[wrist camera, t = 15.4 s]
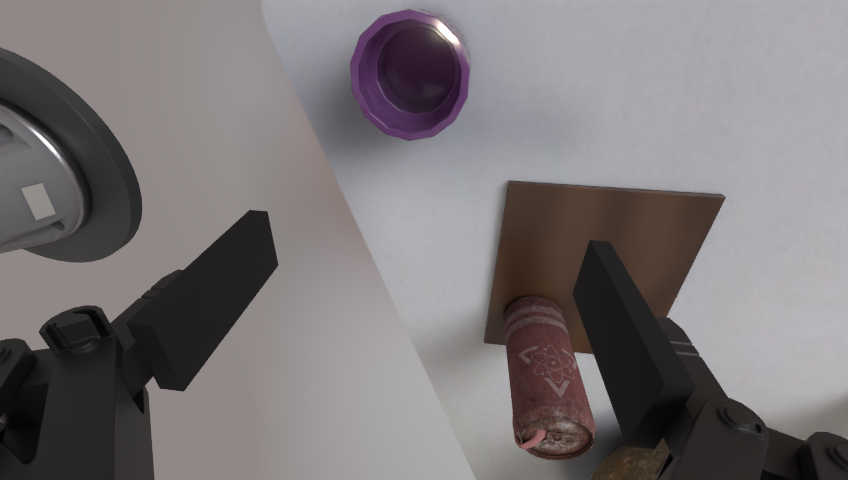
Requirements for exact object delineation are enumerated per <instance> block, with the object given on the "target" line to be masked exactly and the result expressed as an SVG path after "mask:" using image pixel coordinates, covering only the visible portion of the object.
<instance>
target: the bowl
mask: <svg viewBox="0 0 848 480" xmlns="http://www.w3.org/2000/svg"><path fill="white" fill-rule="evenodd" d="M669 452H670V451H669V449H668V447H667V444H666V442H665V440H664V438H662V440H661V441H660V443H659V444H658V446H657V447H656V449H655V450H654V449H646V448H638V447H630V446H626V444H625V445H623V446H621V447H620V448H618V449H617V450H615V451H614V452H613V453H612V454H611V455H610V456H609V457H608V458H607V459H606V460H605V461H603V462H602V463H601V464H600V465H599V466H598V468H597V469H596V471H595V472H594V474H593V476H592V478H591V480H655V478H656V476H657V473H655V471H656V470H657V469H658V467H659V466H660V464H661V463H662V462H663V460H664V459H665V457H666V456H667V455H668V453H669Z"/></svg>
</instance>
